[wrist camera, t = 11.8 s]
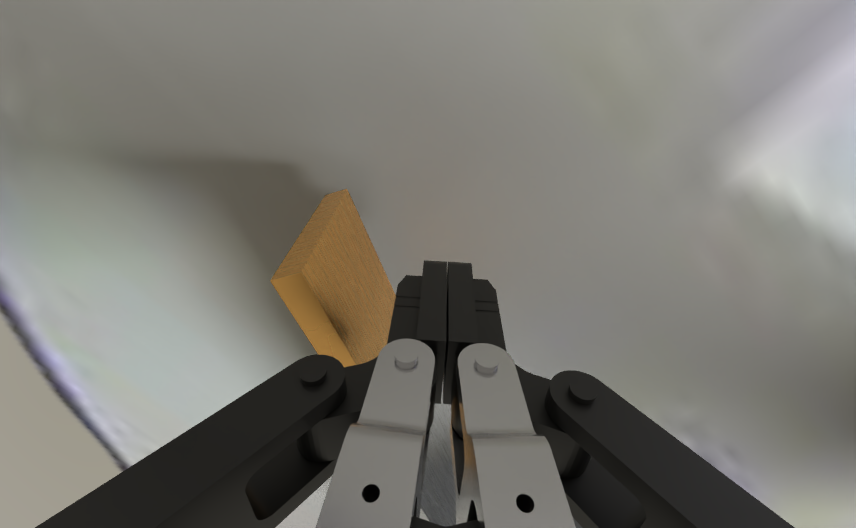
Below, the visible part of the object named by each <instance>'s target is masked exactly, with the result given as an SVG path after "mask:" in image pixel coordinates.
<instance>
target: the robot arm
mask: <svg viewBox="0 0 856 528" xmlns="http://www.w3.org/2000/svg"><path fill="white" fill-rule="evenodd" d="M442 384H443V404H451V424H450V441H451V452H452V463H453V475H454V486H455V498H456V525H452V526H441V525H437V524H435V523H432V522H429V521H427V520H424V519H421V518H420V508H421V499H422V491H423V483H424V475H425V468H426V460H427V452H428V444H429V436H430V427H431V426H432V423H433V419H434V406H435V404H441V396H442ZM332 475H333V476H332ZM331 476H332V479H331V482H330V485H329V488H328V491H327V494H326V497H325V500H324V503H323V506H322V509H321V512H320V515H319V518H318V521H317V525H316V528H576V526H575V523H574V520H573V518H574V519H575V520H576V521H577V522H578V523H579V524H580V526H581V527H582V528H794V527H793V526H792V525H790V524H789V523H788V522H786V521H785V520H784V519H782V518H781V517H780V516H778V515H777V514H776V513H774V512H773V511H772V510H770V509H769V508H768V507H766V506H765V505H764V504H762V503H761V502H760V501H758V500H757V499H756V498H754V497H753V496H752V495H750V494H749V493H748V492H746V491H745V490H744V489H742V488H741V487H740V486H738V485H737V484H736V483H734V482H733V481H732V480H731V479H729V478H728V477H727V476H725V475H724V474H723V473H721V472H720V471H719V470H717V469H716V468H715V467H713V466H712V465H711V464H709V463H708V462H707V461H705V460H704V459H703V458H701V457H700V456H699V455H697V454H696V453H695V452H693V451H692V450H691V449H689V448H688V447H687V446H685V445H684V444H683V443H681V442H680V441H679V440H677V439H676V438H675V437H673V436H672V435H671V434H669V433H668V432H667V431H665V430H664V429H663V428H662V427H660V426H659V425H658V424H656V423H655V422H654V421H652V420H651V419H650V418H648V417H647V416H646V415H644V414H643V413H642V412H640V411H639V410H638V409H636V408H635V407H634V406H632V405H631V404H630V403H628V402H627V401H626V400H624V399H623V398H622V397H620V396H619V395H618V394H616V393H615V392H614V391H612V390H611V389H610V388H608V387H607V386H606V385H604V384H603V383H602V382H600V381H599V380H598V379H596V378H595V377H593V376H591V375H589V374H586V373H583V372H579V371H563V372H560V373H558V374H556V375H555V376H554V377H553V378H552V380H549V379H546V378H543V377H540V376H537V375H533V374H531V373H528V372H526V371H524V370H523V369H521V368H520V367H518V366H517V365H516V364H515V363H514V361H513V359H512V357H511V356H510V355H509V354H508V353H507V351H506V347H505V341H504V336H503V330H502V324H501V318H500V314H499V307H498V301H497V295H496V290H495V289H494V288H493V286H492V285H491V284H490V283H489V281H488V280H482V279H473V275H472V265H471V263H460V262H448V269H447V262H440V261H424V266H423V276H410V275H406V276H405V277H404V279H403V280H402V281H401V282H400V283H399V284H398V287H397V292H396V298H395V303H394V309H393V314H392V319H391V325H390V330H389V336H388V341H387V345H385V346H384V347H383V348H382V350H381V351H380V353H379V355H378V356H377V357H376V358H374V359H372V360H370V361H368V362H366V363H362V364H358V365H353V366H348V367H343V365H342V363H341V362H340V361H339V360H337V359H336V358H334V357H332V356H328V355H311V356H307V357H304V358H302V359H300V360H298V361H296V362H295V363H293V364H291V365H290V366H288V367H287V368H285V369H284V370H282V371H280V372H279V373H277V374H276V375H274V376H273V377H271V378H269V379H268V380H266V381H265V382H263V383H262V384H260V385H258V386H257V387H255V388H254V389H252V390H251V391H249V392H247V393H246V394H244V395H243V396H241V397H240V398H238V399H236V400H235V401H233V402H232V403H230V404H229V405H227V406H225V407H224V408H222V409H221V410H219V411H218V412H216V413H214V414H213V415H211V416H210V417H208V418H207V419H205V420H203V421H202V422H200V423H199V424H197V425H196V426H194V427H192V428H191V429H189V430H188V431H186V432H185V433H183V434H181V435H180V436H178V437H177V438H175V439H174V440H172V441H170V442H169V443H167V444H166V445H164V446H163V447H161V448H159V449H158V450H156V451H155V452H153V453H152V454H150V455H148V456H147V457H145V458H144V459H142V460H141V461H139V462H137V463H136V464H134V465H133V466H131V467H130V468H128V469H126V470H125V471H123V472H122V473H120V474H119V475H117V476H116V477H114V478H112V479H111V480H109V481H108V482H106V483H104V484H103V485H101V486H100V487H98V488H97V489H95V490H94V491H92V492H90V493H89V494H87V495H86V496H84V497H83V498H81V499H79V500H78V501H76V502H75V503H73V504H72V505H70V506H68V507H67V508H65V509H64V510H62V511H61V512H59V513H57V514H56V515H54V516H53V517H51V518H49V519H48V520H46V521H45V522H43V523H42V524H40V525H38V526H37V527H35V528H275V527H276V526H277V525H278V524H280V523H281V522H282V521H283V520H284V519H285V518H286V517H287V516H288V515H289V514H290V513H291V512H293V511H294V510H295V509H296V508H297V507H298V506H299V505H300V504H301V503H302V502H303V501H305V500H306V499H307V498H308V497H309V496H310V495H311V494H312V493H313V492H314V491H315V490H317V489H318V488H319V487H320V486H321V485H322V484H323V483H324V482H325V481H326V480H327V479H328V478H330V477H331Z"/></svg>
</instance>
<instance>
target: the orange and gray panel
mask: <svg viewBox="0 0 856 528" xmlns="http://www.w3.org/2000/svg"><path fill="white" fill-rule="evenodd" d="M270 281H271V283H272V284H273V286H274V287H275V289H276V291H277V292H278V294H279V295H280V297H281V298H282V300H283V301H284V303H285V304H286V306H287V307H288V309H289V310H290V312H291V313H292V315H293V317H294V318H295V320H296V321H297V323H298V324H299V326H300V327H301V329H302V330H303V332H304V333H305V335H306V336H307V338H308V340H309V341H310V343H311V344H312V346H313V347H314V349H315V350H316V352H317V353H318V355H328V356H332V357H334V358H336V359H337V360H339V361H340V362H341V363H342V365H343V367H348V366H353V365H358V364H362V363H366V362H368V361H370V360H372V359H374V358H376V357H377V356H378V355H379V353H380V351H381V350H382V348H383V347H384V346H385V345H387V341H388V336H389V330H390V325H391V319H392V314H393V309H394V303H395V298H396V295H395V293H394V291H393V289H392V286H391V284H390V282H389V280H388V278H387V275H386V273H385V271H384V269H383V267H382V264H381V262H380V260H379V258H378V256H377V253H376V251H375V249H374V247H373V245H372V243H371V240H370V238H369V236H368V234H367V232H366V229H365V227H364V225H363V223H362V221H361V218H360V216H359V214H358V212H357V210H356V207H355V205H354V203H353V201H352V199H351V196H350V194H349V192H348V190H347V189H344V190H341V191H338V192H334V193H331V194H328V195H325V197H324V198H323V200H322V201H321V203H320V204H319V206H318V207H317V209H316V210H315V212H314V214H313V215H312V217H311V218H310V220H309V221H308V223H307V224H306V226H305V228H304V229H303V231H302V232H301V234H300V235H299V237H298V238H297V240H296V241H295V243H294V245H293V246H292V248H291V249H290V251H289V252H288V254H287V255H286V257H285V259H284V260H283V262H282V263H281V265H280V266H279V268H278V269H277V271H276V272H275V274H274V276H273V277H272V279H271V280H270ZM450 424H451V404H443V384H442V396H441V404H435V406H434V419H433V423H432V426H431V427H430V436H429V444H428V452H427V460H426V468H425V475H424V483H423V491H422V499H421V508H420V518H421V519H424V520H427V521H429V522H432V523H435V524H437V525H441V526H452V525H456V498H455V486H454V475H453V463H452V452H451V441H450Z"/></svg>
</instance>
